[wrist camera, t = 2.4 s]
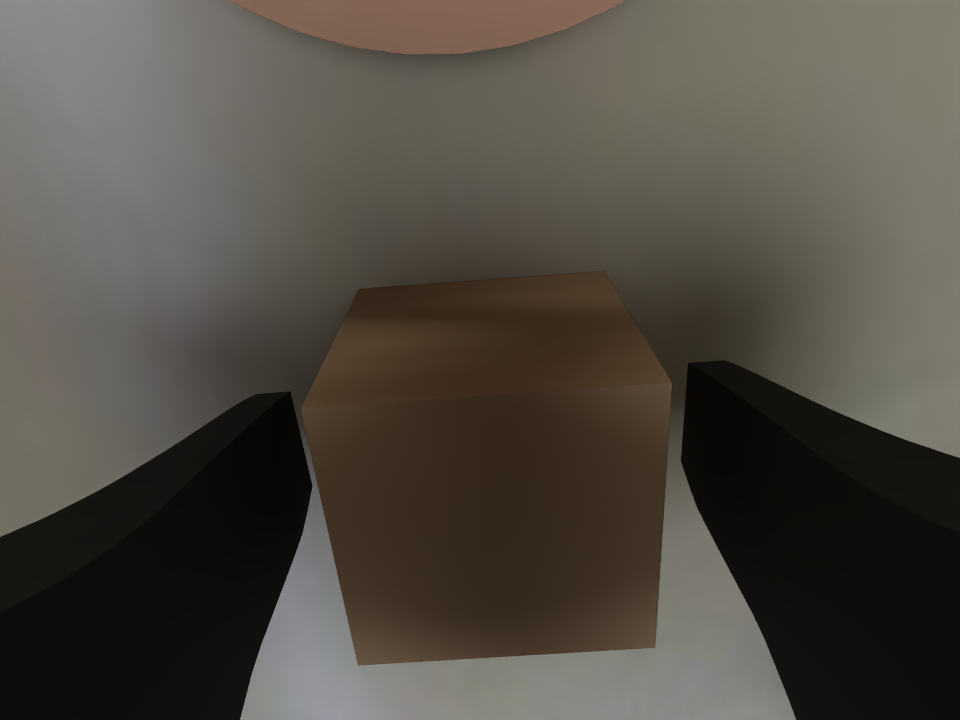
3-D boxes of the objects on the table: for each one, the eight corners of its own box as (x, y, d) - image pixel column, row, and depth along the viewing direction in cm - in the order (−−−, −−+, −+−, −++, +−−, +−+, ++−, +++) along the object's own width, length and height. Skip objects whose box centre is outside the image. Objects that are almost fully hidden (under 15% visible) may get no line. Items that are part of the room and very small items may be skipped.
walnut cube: (391, 485, 14) (358, 665, 10) (359, 287, 12) (300, 407, 8) (601, 471, 14) (654, 648, 10) (603, 269, 12) (671, 382, 8)
